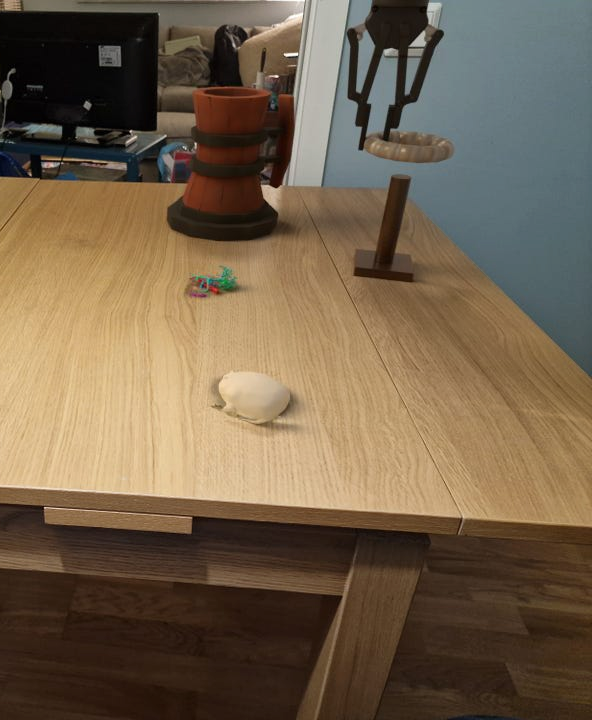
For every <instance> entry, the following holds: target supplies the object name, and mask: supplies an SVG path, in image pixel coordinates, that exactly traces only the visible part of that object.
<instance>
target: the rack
mask: <svg viewBox="0 0 592 720" xmlns="http://www.w3.org/2000/svg"><path fill="white" fill-rule="evenodd" d="M411 182H412V176H411V175H407V174H401V173H399V174H398V173H395V174H392V175H390V181H389V185H388V191H387V194H386V199H385V205H384V209H383V213H382V219H381V224H380V229H379V233H378V238H377V244H376V248H375V250H373V249H372V250H370V249H361V248H355V249H354V255H353V273H352V274H353V275H352V276H356V277H365V278H374V279H383V280H391V281H400V282H407V283H412V282H413V279H414V275H415V274H414V267H413V261H412V255H411V254H410V253H400V252H399V253H398V252H396V250H397V245H398V242H399V238H400V233H401V227H402V222H403V219H404V214H405V208H406V205H407V201H408V196H409V192H410V187H411Z"/></svg>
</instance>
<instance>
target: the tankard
mask: <svg viewBox="0 0 592 720" xmlns="http://www.w3.org/2000/svg"><path fill="white" fill-rule="evenodd" d="M271 97H272V92H270V91H268V90H267V89H260V88H253V87H239V86H216V87H215V86H213V87H204V88H203V87H202V88H198V89H195V90H193V91H192V100H193V107H194V109H193V110H194V116H195V125H194V126H191V127H190V136H191V137H190V138H191V140H192V141H193V142H194V143H195V144H196V149H195V153H194V154H193V155H190V157H189V162H188V168H189V169H190V171H191V173H190V176H189V178H188V181H187V183H186V187H185V190H184V193H183V195H181V196H180V197H179V198H178V199H177V200H176V201H173V203H172V204H170V205H169V206H168V207H167V208H166V221H167V223H168V225H169V227H170V229H171V230H173V231H176V232H178V233H180V234H182V235H185V236H188V237H191V238H196V239H197V238H198V239H203V240H210V241H217V242H224V241H225V242H226V241H250V240H253V239H257V238H262V237H264V236H268V235H271V234H272V233H273V231H274V230H275V229H276V227H277V226H278V221H279V212H278V211H277V210H276V209H275V208H274V207H273V205H271V204H270V203H269V202H268V201H267V200H266V199H265V197H264V192H263V188H262V182H261V179H260V178H261V177H260V174H261V173H262V172H263V171H265V167H266V164H272V169H271V172H270V173H271V174H270V179H269V182H268V186H269V187H272V188H273V189H275V190H276V189H278V188H280V187H281V186H282V183H283V181H284V178H285V175H286V173H287V170H288V169H289V165H290V162H291V160H292V152H293V146H294V138H295V129H296V127H295V126H296V120H295V117H296V115H295V97H294V95H291V94H287V93H286V94H284V93H279V94H278V96H277V126H267V127H263V126H264V122H265V118H266V114H267V111H268V108H269V104H270V101H271ZM275 135H277V136H276V142H275V143H276V144H275V154H268V155H267V154H266V155H259V147H260V145H262V144H264V143H266V142H267V141H268V139H269V138H268V137H269V136H275Z"/></svg>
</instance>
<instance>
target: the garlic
mask: <svg viewBox="0 0 592 720" xmlns="http://www.w3.org/2000/svg"><path fill="white" fill-rule="evenodd" d="M218 392H219V394H220V397H221V398H222V400H223V401H224V402H225V405H224V406H222V405H221V404H219V405H217V404H215V403H214V405H210V407H211V408H214V409H215V410H218V411H220V412H222V413H232V414H235V415H236V417H238V419H239V420H241V421H244V422H248V423H250V424H251V423H252V424H254V425H255V424H256V425H257V424H258V425H261V424H265V423H268V422H270V421H272V420H275V419H276V418H277V417H279V416H280V414H282V413H283V412H284V411H285V409H286V408H287V406H288V405H289V403H290V399H291V394H290V391H289V389H288V387H287V386H285V384H283V383H282V382H280V381H278V380H277V379H275V378H273V377H272V376H270V375H268V374H266V373H261V372H257V371H235V370H231V371H230V372H228V373H227V374H225V375H223V376H222V379H221V380H220V381H219V382H218Z"/></svg>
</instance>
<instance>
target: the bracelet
mask: <svg viewBox="0 0 592 720" xmlns="http://www.w3.org/2000/svg"><path fill="white" fill-rule="evenodd" d="M383 133H384V130H381V131H376V132H371V133H369V134H367V135H366V139H365V143H364V149H363V150H364V151H365V152H366V153H368V154H370V155H372V156H374V157H376V158H380V159H384V160H389V161H394V162H401V163H412V164H432V163H435V164H436V163H440V162H443V161H446V160H450V158H452V157H453V155H454V154H455V147H454V146H455V145H454V144H453V143H452V141H451V139H450V140H449V139H448V138H445V137H442V136H440V135H436V134H431V133H424V132H419V131H410V130H409V131H407V130H390V134H389V139H388V142H387V141H384V140H382V138H383Z"/></svg>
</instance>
